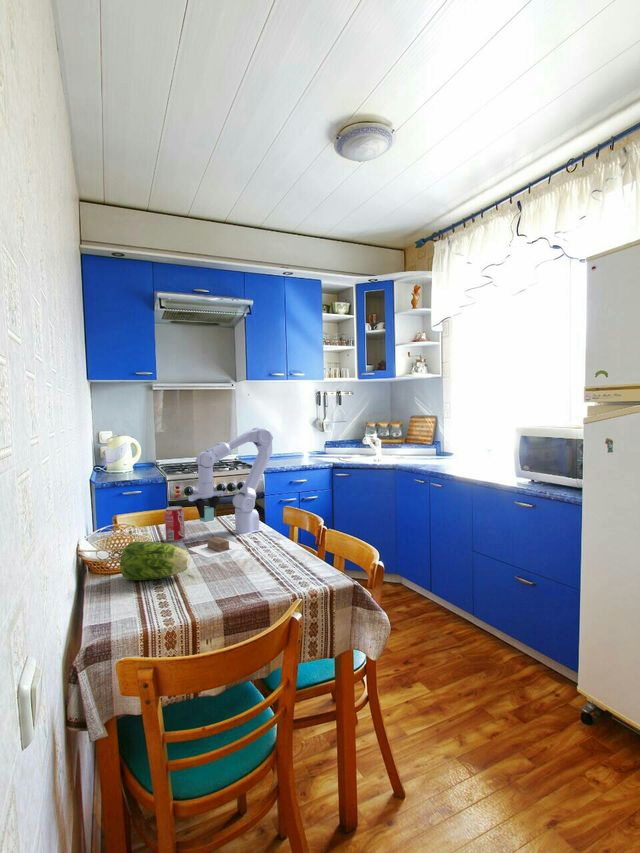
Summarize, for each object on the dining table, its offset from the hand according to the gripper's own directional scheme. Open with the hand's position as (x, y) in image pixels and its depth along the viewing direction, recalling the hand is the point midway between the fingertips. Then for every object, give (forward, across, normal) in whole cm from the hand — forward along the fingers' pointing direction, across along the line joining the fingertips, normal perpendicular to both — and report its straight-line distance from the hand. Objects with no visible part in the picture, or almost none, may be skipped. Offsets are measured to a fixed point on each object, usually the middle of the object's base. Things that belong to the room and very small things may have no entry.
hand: (206, 516), depth 180 cm
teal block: (+2, 0, 0) cm, 2 cm away
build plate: (+9, +5, +14) cm, 18 cm away
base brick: (+8, +5, +16) cm, 18 cm away
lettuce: (+9, +33, +26) cm, 43 cm away
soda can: (+9, +10, -8) cm, 15 cm away
